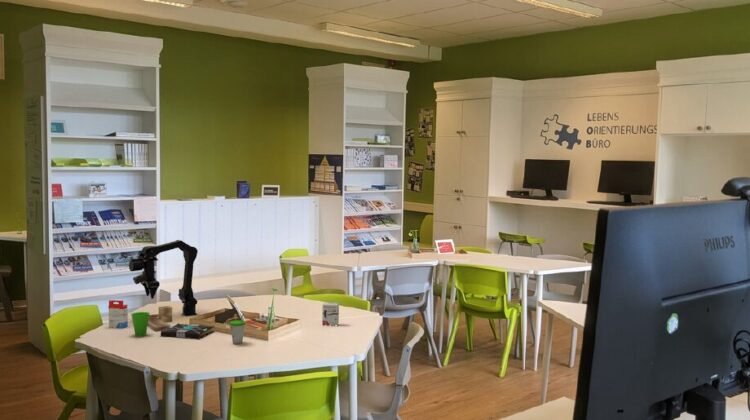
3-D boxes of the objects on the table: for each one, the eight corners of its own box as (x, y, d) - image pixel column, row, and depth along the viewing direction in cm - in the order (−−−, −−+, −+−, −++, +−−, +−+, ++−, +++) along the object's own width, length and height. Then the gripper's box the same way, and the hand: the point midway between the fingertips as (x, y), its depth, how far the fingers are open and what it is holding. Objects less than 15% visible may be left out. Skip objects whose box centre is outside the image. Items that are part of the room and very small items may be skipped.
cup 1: (154, 334, 336) (153, 312, 336) (140, 338, 328) (140, 316, 327) (140, 332, 340) (140, 311, 339) (127, 336, 332) (126, 314, 331)
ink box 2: (322, 325, 360) (322, 304, 359) (323, 323, 365) (323, 302, 364) (337, 326, 359) (337, 304, 358) (338, 324, 364) (339, 302, 363)
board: (156, 320, 367) (156, 316, 367) (170, 329, 347) (170, 325, 347) (141, 322, 363) (141, 318, 363) (155, 331, 342) (155, 327, 342)
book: (160, 337, 332) (160, 327, 332) (177, 329, 348) (177, 320, 348) (199, 340, 327) (199, 330, 327) (215, 332, 344) (215, 322, 343)
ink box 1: (128, 326, 353) (127, 299, 352) (123, 328, 348) (123, 300, 347) (112, 325, 354) (112, 298, 353) (108, 327, 349) (108, 300, 348)
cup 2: (227, 341, 323) (227, 311, 322) (243, 340, 326) (243, 310, 326) (231, 345, 316) (231, 314, 315) (247, 344, 319) (247, 313, 318)
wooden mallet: (169, 319, 369) (169, 305, 368) (172, 321, 365) (172, 307, 364) (144, 322, 361) (144, 308, 361) (147, 324, 357) (147, 310, 357)
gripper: (129, 268, 368) (130, 296, 369) (138, 273, 352) (139, 301, 354) (150, 266, 374) (151, 293, 375) (159, 271, 358) (160, 299, 360)
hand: (149, 297), depth 366 cm, fingers open, 9 cm apart
